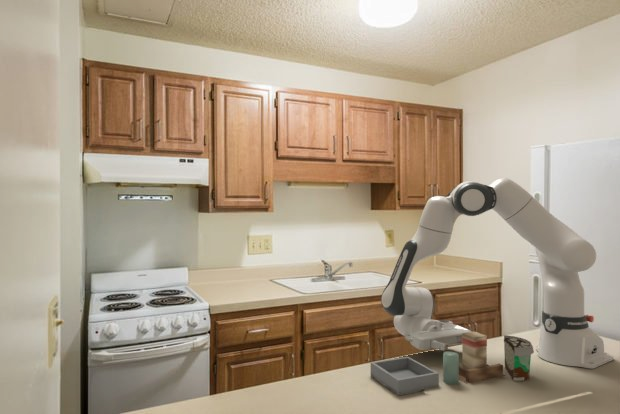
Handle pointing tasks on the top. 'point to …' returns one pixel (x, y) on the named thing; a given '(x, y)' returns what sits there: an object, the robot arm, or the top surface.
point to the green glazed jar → (451, 368)
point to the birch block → (474, 350)
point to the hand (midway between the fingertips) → (458, 345)
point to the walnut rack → (480, 373)
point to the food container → (517, 357)
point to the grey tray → (404, 375)
